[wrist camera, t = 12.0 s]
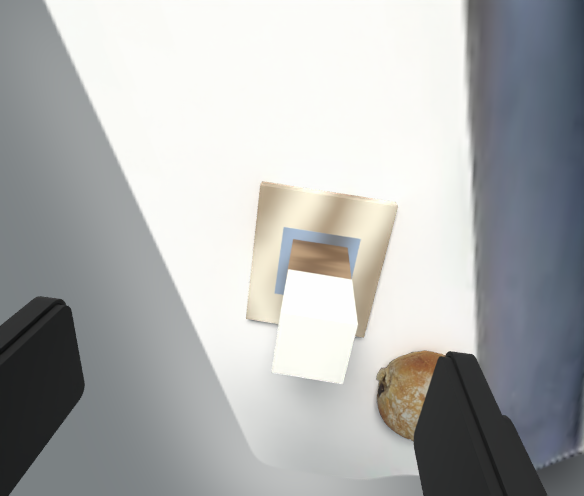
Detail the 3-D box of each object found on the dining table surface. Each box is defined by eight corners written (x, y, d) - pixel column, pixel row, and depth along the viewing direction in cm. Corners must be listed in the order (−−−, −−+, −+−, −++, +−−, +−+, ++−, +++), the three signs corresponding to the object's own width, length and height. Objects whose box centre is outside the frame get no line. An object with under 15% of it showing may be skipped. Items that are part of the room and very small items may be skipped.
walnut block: (347, 247, 37) (351, 279, 31) (337, 294, 39) (339, 331, 33) (293, 239, 37) (287, 269, 31) (285, 286, 39) (279, 322, 33)
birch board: (395, 202, 36) (398, 206, 35) (362, 330, 42) (363, 337, 41) (262, 181, 36) (260, 185, 35) (248, 312, 42) (245, 319, 41)
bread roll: (392, 324, 46) (367, 366, 39) (491, 353, 41) (482, 406, 35) (384, 392, 50) (361, 440, 43) (474, 424, 45) (463, 484, 39)
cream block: (352, 279, 31) (357, 324, 26) (339, 332, 33) (342, 384, 28) (288, 269, 31) (280, 312, 26) (279, 322, 33) (271, 372, 28)
